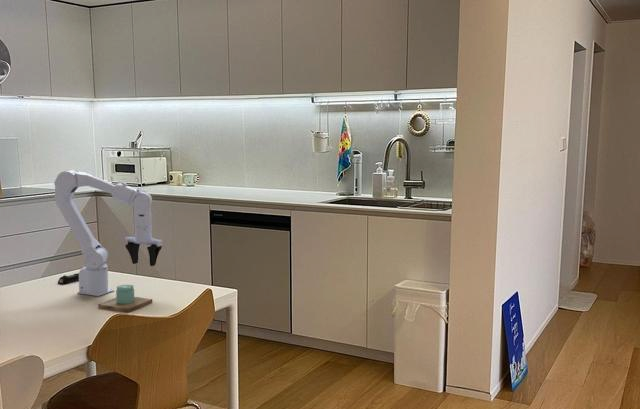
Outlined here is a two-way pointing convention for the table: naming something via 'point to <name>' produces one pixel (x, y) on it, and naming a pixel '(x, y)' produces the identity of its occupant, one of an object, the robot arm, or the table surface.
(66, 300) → the table surface
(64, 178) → the robot arm
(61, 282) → the electric trimmer
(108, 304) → the post board
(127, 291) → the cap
